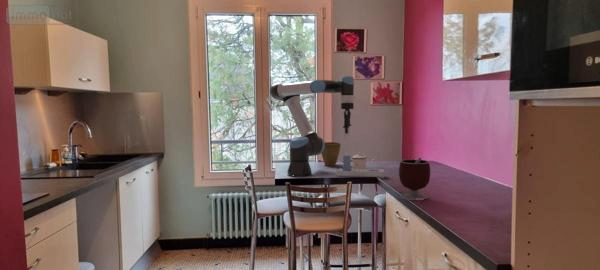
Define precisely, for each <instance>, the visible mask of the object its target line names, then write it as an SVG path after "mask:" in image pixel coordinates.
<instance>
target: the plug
mask: <svg viewBox="0 0 600 270" xmlns="http://www.w3.org/2000/svg"><path fill="white" fill-rule="evenodd" d="M342 160H343V162H342V163H343V165H342V166H343V168H342V169H343V171H351V169H352V167H351V166H352V165H351V162H352V161H350V160H351V154H349V153H348V152H345V154H343V157H342Z"/></svg>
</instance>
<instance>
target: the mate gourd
mask: <svg viewBox="0 0 600 270" xmlns="http://www.w3.org/2000/svg"><path fill="white" fill-rule="evenodd" d="M398 176H399V182H400V183H401V185H402V186H403V187H405V188H407V189H408V190H410V192H408V193H407V192H406V193H402V194H400V198H401V199H402V200H406V201H410V200H416V198H424V199H427V198H428V199H429V197H428V195H426V194H423V193H419V192H418V191H419V190H422V189H424V188H426V187H427V186H428V185H429V183H430V180H431V179H430V178H431V166H430V161H429V160H426V159H422V157H419V158H417V159H412V158H411V159H410V158H409V159H408V158H407V159H402V160H400V161H399V167H398ZM428 199H427V200H428Z"/></svg>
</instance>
